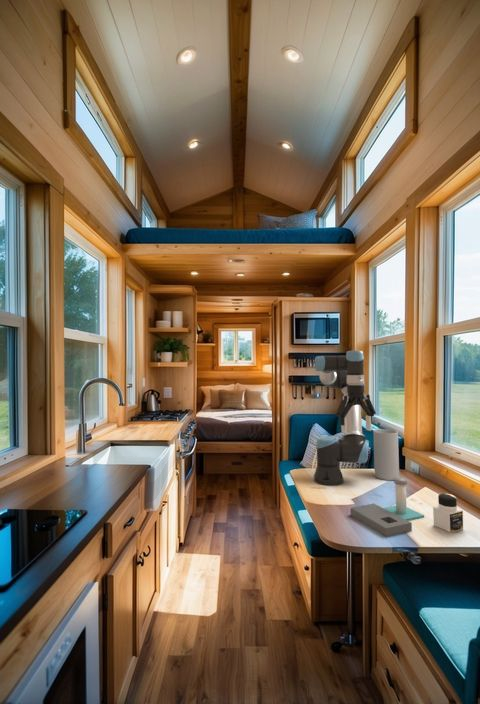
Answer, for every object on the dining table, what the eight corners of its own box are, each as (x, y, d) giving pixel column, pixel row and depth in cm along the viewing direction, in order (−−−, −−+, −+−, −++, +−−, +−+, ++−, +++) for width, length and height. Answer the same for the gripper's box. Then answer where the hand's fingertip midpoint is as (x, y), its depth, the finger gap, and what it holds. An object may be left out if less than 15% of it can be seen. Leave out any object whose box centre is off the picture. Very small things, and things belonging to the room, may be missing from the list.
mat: (379, 510, 152) (379, 508, 152) (401, 506, 156) (401, 504, 156) (401, 522, 140) (401, 520, 140) (424, 517, 145) (424, 515, 145)
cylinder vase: (403, 480, 190) (402, 433, 191) (379, 480, 190) (378, 433, 191) (393, 473, 202) (392, 429, 203) (371, 473, 202) (370, 429, 203)
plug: (392, 510, 149) (391, 478, 150) (401, 508, 151) (400, 476, 152) (401, 515, 145) (400, 481, 145) (410, 513, 147) (409, 480, 147)
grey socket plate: (350, 515, 147) (350, 507, 148) (373, 510, 152) (373, 503, 152) (386, 536, 129) (386, 528, 129) (411, 530, 133) (411, 522, 133)
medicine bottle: (450, 533, 131) (449, 500, 131) (433, 525, 137) (432, 493, 138) (463, 529, 134) (462, 496, 134) (446, 521, 140) (445, 490, 141)
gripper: (337, 385, 155) (338, 435, 154) (383, 384, 164) (384, 430, 163) (327, 384, 162) (328, 432, 161) (371, 383, 171) (372, 427, 170)
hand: (356, 431), depth 162 cm, fingers open, 13 cm apart
